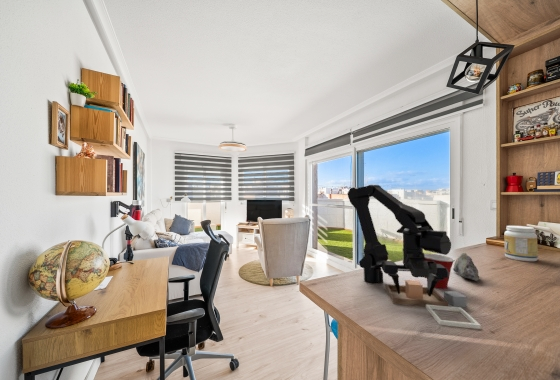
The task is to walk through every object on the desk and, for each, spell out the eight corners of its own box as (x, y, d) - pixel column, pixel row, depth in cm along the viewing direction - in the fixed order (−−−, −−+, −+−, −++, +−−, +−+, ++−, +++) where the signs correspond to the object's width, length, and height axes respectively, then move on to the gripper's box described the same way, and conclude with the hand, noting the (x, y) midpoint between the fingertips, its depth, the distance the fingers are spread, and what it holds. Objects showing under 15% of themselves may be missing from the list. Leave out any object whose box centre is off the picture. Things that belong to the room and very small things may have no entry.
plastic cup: (462, 290, 83) (461, 257, 84) (444, 296, 79) (443, 261, 79) (432, 280, 93) (431, 250, 93) (414, 284, 89) (413, 253, 89)
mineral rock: (476, 285, 88) (475, 259, 88) (444, 277, 97) (443, 253, 97) (486, 277, 96) (485, 253, 96) (455, 270, 104) (455, 248, 104)
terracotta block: (409, 299, 75) (408, 284, 75) (405, 294, 79) (405, 279, 79) (422, 301, 74) (422, 285, 74) (418, 295, 78) (418, 280, 78)
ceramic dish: (439, 327, 61) (439, 321, 61) (425, 309, 70) (425, 304, 70) (481, 332, 58) (480, 325, 58) (461, 313, 68) (461, 307, 68)
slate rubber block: (453, 310, 70) (453, 297, 70) (444, 303, 74) (443, 291, 74) (466, 309, 70) (466, 296, 70) (456, 303, 74) (455, 291, 74)
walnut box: (393, 305, 72) (393, 297, 72) (385, 290, 84) (385, 284, 84) (448, 311, 69) (448, 302, 69) (432, 294, 80) (432, 287, 80)
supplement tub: (502, 254, 131) (501, 224, 131) (533, 257, 123) (532, 226, 124) (507, 259, 121) (506, 227, 121) (541, 263, 114) (540, 229, 114)
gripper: (388, 252, 71) (389, 303, 71) (457, 255, 67) (458, 309, 66) (381, 244, 82) (381, 288, 81) (440, 246, 77) (441, 293, 77)
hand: (413, 294), depth 76 cm, fingers open, 9 cm apart
